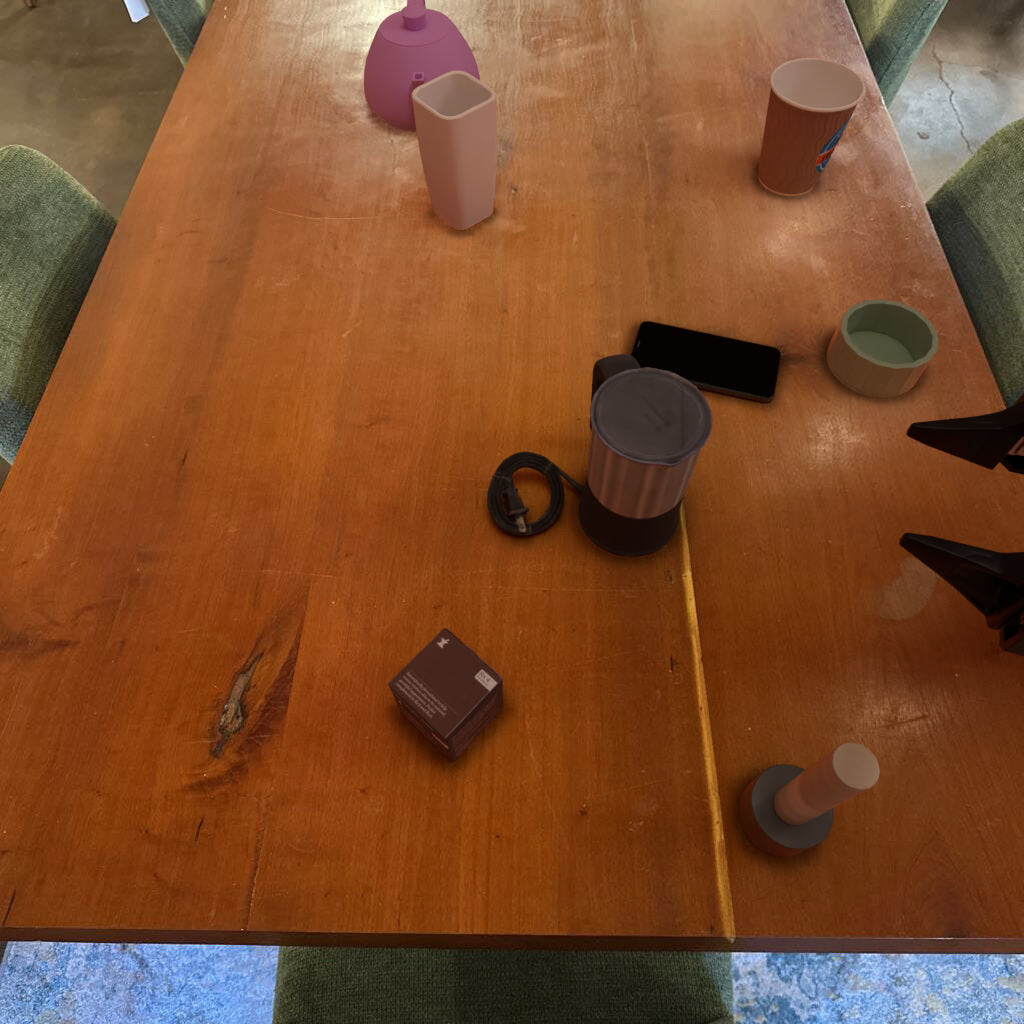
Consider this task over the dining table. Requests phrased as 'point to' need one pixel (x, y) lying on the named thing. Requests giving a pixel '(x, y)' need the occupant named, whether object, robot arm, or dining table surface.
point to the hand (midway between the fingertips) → (905, 481)
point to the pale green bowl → (881, 348)
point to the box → (448, 694)
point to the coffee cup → (805, 121)
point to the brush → (804, 799)
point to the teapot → (411, 60)
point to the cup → (458, 146)
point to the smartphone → (709, 360)
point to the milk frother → (621, 460)
